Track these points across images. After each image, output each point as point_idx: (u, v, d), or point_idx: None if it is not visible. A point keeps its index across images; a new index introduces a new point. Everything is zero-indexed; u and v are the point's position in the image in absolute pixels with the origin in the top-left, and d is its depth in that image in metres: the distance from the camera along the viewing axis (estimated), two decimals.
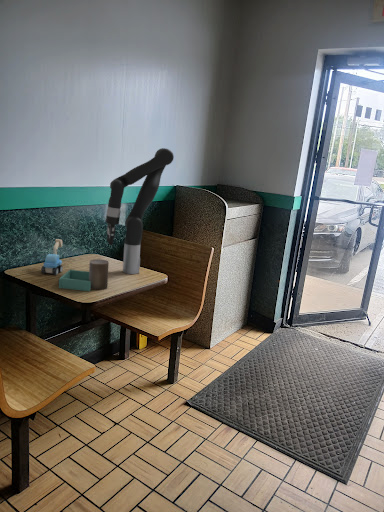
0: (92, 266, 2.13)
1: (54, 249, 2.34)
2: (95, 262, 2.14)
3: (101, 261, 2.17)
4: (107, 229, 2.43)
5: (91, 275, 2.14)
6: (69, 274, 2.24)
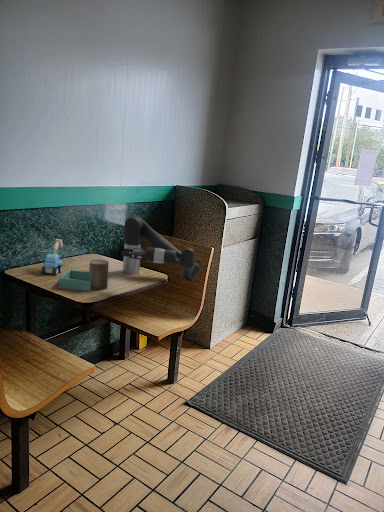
0: (92, 266, 2.13)
1: (54, 249, 2.34)
2: (95, 262, 2.14)
3: (101, 261, 2.17)
4: (138, 249, 2.17)
5: (91, 275, 2.14)
6: (69, 274, 2.24)
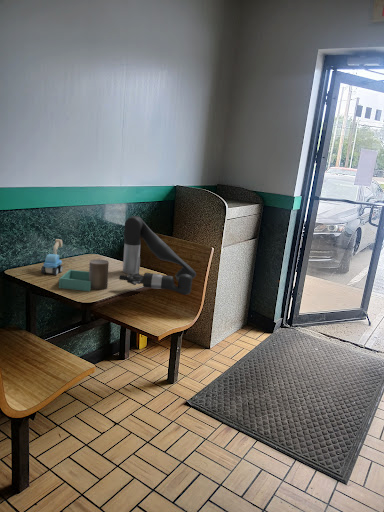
0: (92, 266, 2.13)
1: (54, 249, 2.34)
2: (95, 262, 2.14)
3: (101, 261, 2.17)
4: (135, 274, 2.19)
5: (91, 275, 2.14)
6: (69, 274, 2.24)
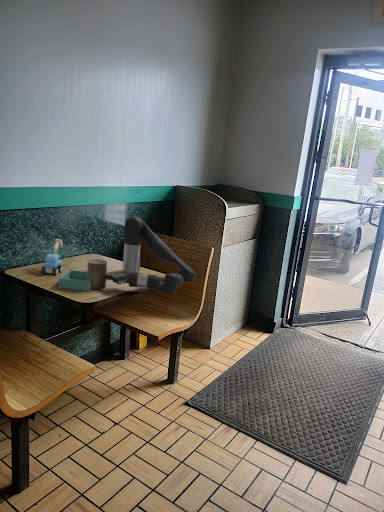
0: (90, 265, 2.13)
1: (54, 249, 2.34)
2: (93, 262, 2.14)
3: (99, 261, 2.17)
4: (120, 274, 2.18)
5: (89, 275, 2.14)
6: (69, 274, 2.24)
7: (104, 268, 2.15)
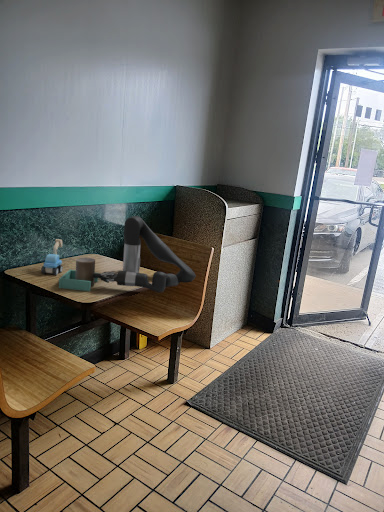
0: (78, 264, 2.14)
1: (54, 249, 2.34)
2: (81, 260, 2.14)
3: (88, 259, 2.17)
4: (109, 272, 2.18)
5: (77, 273, 2.15)
6: (69, 274, 2.24)
7: (92, 267, 2.15)
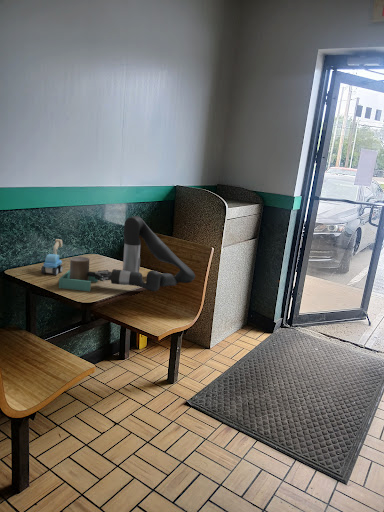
0: (72, 263, 2.14)
1: (54, 249, 2.34)
2: (75, 259, 2.15)
3: (82, 258, 2.18)
4: (103, 271, 2.19)
5: (71, 272, 2.15)
6: (69, 274, 2.24)
7: (86, 265, 2.16)
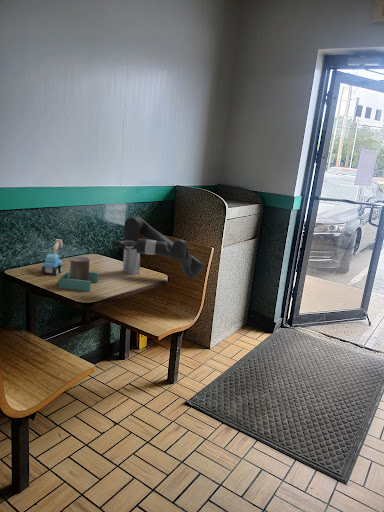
0: (72, 263, 2.14)
1: (54, 249, 2.34)
2: (75, 259, 2.15)
3: (82, 258, 2.18)
4: (128, 240, 2.15)
5: (71, 272, 2.15)
6: (69, 274, 2.24)
7: (86, 266, 2.16)
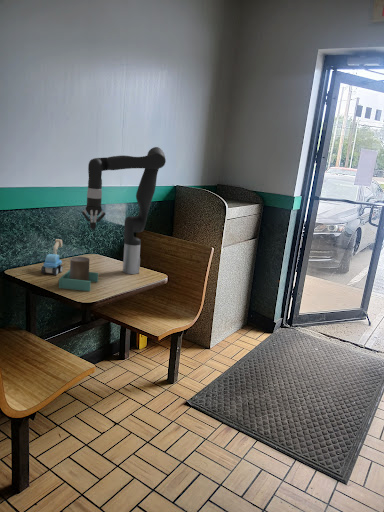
0: (72, 263, 2.14)
1: (54, 249, 2.34)
2: (75, 259, 2.15)
3: (82, 258, 2.18)
4: None
5: (71, 272, 2.15)
6: (69, 274, 2.24)
7: (86, 266, 2.16)
